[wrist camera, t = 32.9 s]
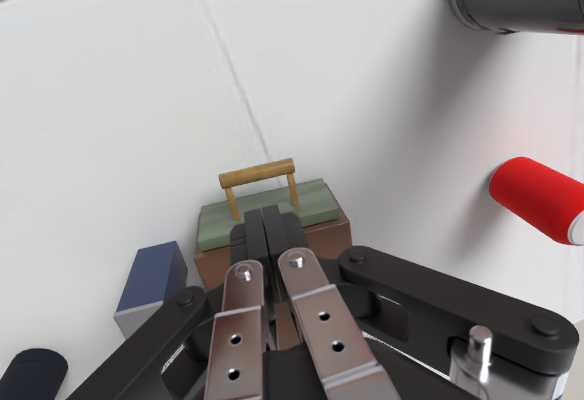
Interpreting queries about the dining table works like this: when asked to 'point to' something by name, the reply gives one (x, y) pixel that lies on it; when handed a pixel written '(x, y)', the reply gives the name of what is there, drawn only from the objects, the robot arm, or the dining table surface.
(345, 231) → the cabinet
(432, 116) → the dining table surface
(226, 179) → the drawer
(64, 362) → the black bottle
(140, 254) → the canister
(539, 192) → the beverage can
